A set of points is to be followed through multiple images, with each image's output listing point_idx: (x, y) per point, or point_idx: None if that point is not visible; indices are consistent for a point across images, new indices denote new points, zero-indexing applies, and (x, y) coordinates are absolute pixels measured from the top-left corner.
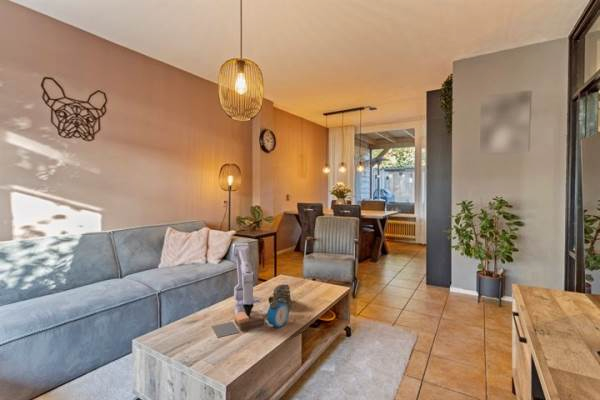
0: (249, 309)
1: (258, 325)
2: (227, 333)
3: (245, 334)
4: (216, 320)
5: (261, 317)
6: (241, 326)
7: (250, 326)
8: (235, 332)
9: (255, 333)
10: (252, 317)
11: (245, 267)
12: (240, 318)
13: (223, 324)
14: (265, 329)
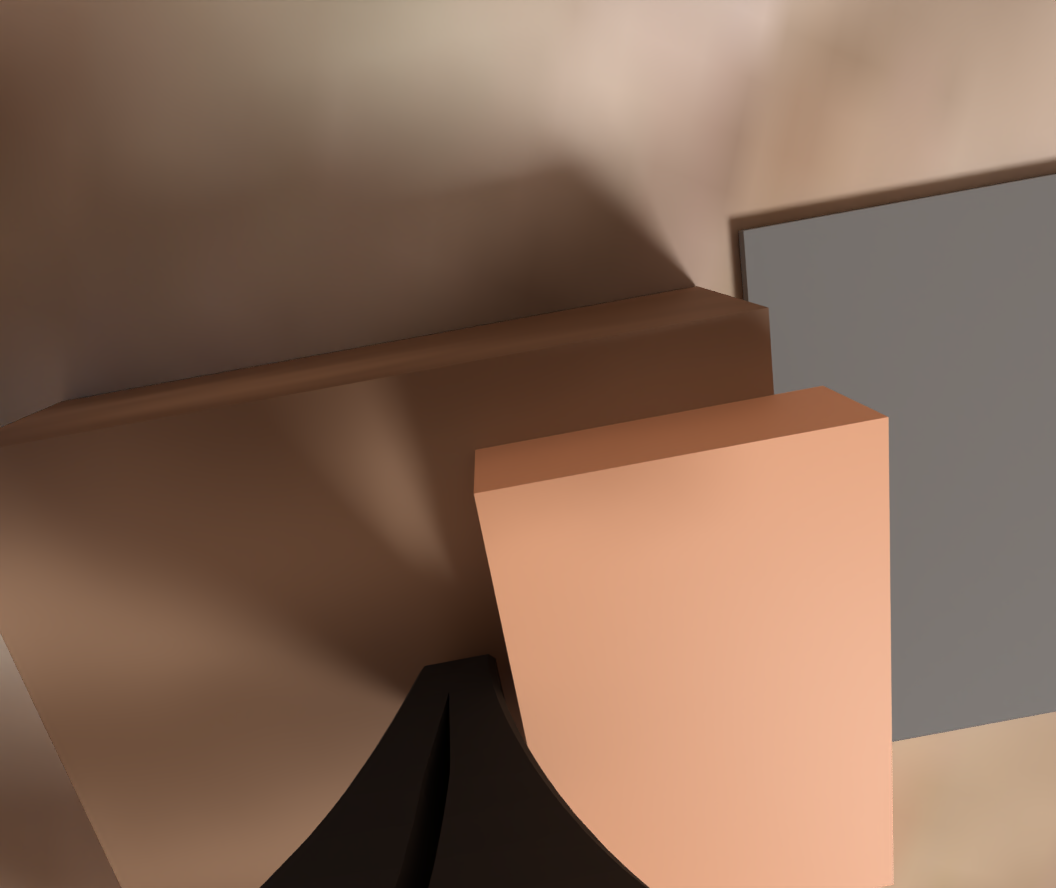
0: (403, 855)
1: (214, 378)
2: (1038, 251)
3: (622, 69)
4: (1037, 874)
5: (32, 579)
6: (723, 301)
7: (443, 340)
8: (849, 239)
9: (347, 27)
10: (332, 649)
11: None
12: (794, 511)
13: (985, 686)
14: (40, 172)
